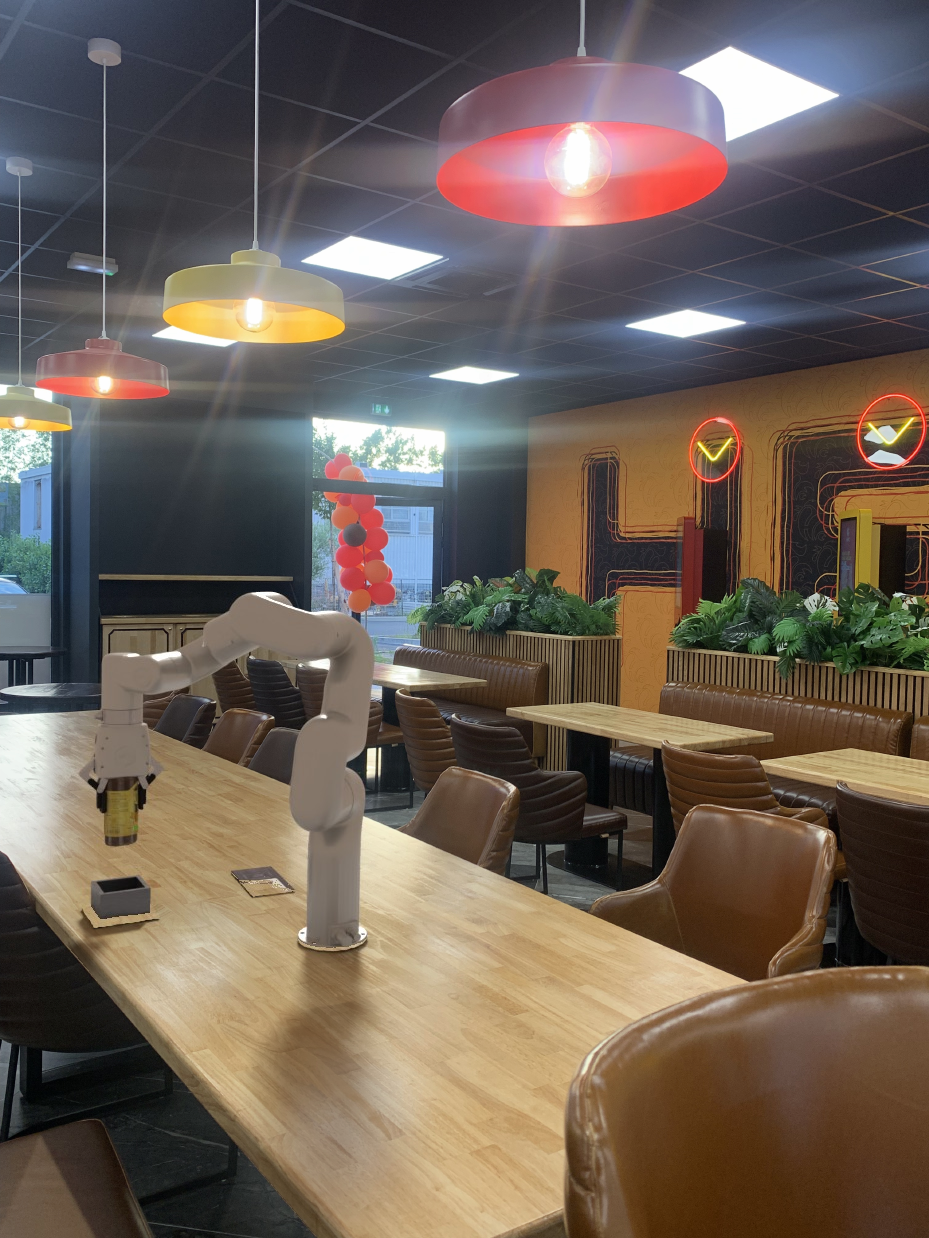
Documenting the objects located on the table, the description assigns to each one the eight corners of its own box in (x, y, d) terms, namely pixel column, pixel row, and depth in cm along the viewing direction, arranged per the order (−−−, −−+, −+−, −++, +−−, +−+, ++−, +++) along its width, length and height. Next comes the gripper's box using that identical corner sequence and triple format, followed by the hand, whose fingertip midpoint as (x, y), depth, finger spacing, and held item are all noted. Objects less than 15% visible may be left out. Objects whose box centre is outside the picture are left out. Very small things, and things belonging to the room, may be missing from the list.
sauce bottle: (142, 845, 192) (143, 742, 191) (108, 849, 188) (109, 744, 187) (132, 837, 197) (133, 737, 196) (100, 841, 193) (100, 739, 193)
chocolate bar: (270, 866, 225) (294, 889, 209) (270, 870, 225) (294, 894, 209) (231, 870, 221) (252, 895, 205) (231, 874, 221) (252, 899, 205)
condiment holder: (159, 918, 191) (159, 889, 191) (93, 928, 185) (93, 898, 185) (144, 900, 201) (145, 872, 201) (81, 909, 195) (82, 880, 195)
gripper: (77, 722, 184) (77, 819, 185) (172, 717, 193) (171, 809, 193) (70, 717, 190) (70, 810, 191) (163, 712, 199) (162, 801, 200)
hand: (121, 809), depth 192 cm, fingers closed on sauce bottle, 6 cm apart
